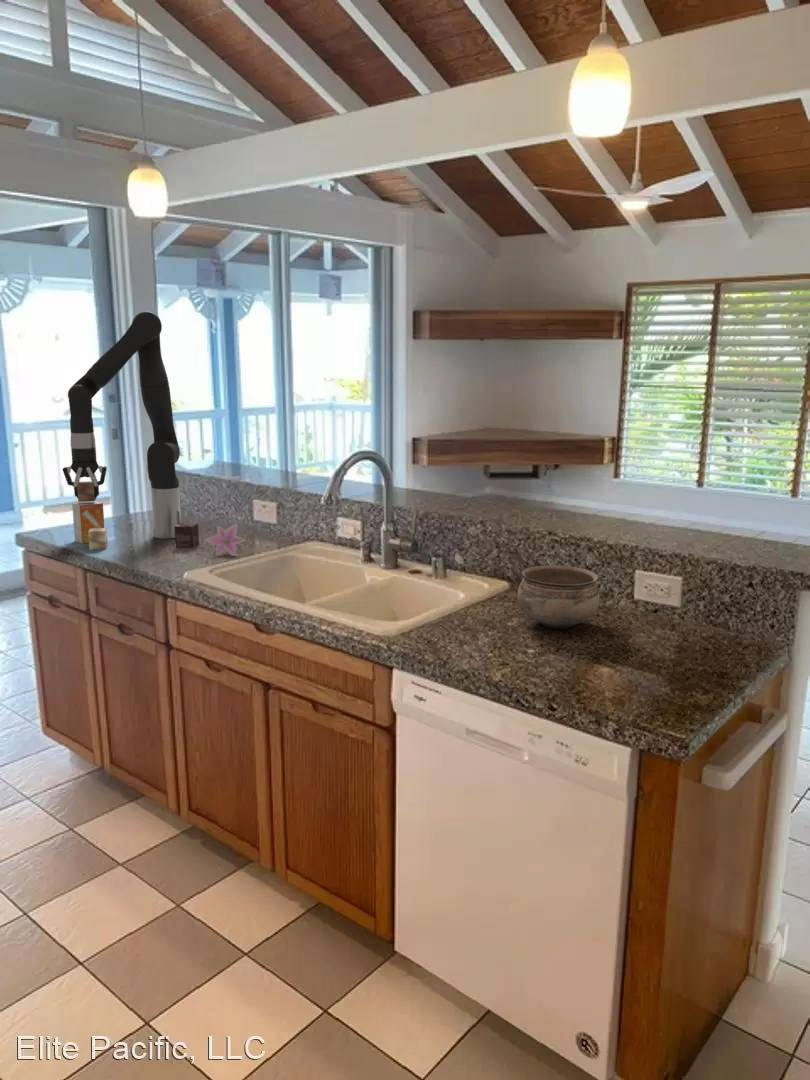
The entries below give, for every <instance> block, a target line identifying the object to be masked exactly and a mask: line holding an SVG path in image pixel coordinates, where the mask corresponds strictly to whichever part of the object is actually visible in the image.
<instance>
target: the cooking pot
mask: <svg viewBox="0 0 810 1080" xmlns="http://www.w3.org/2000/svg"><path fill="white" fill-rule="evenodd" d="M521 576H522V577H523V578H522V580H521V581H520V583H519V586H518V588H517V603H518V604H519V606H520V608H521V610H522V612H523V613H525V615H527V616H528V617H529V618H530V619H533V620H534V621H536V622H537V623H539V624H541V625H543V626H544V627H545V628H548V629H552V630H553V629H554V630H565V629H570V628H571V627H573V626H576V625H578V624H580V623H583V622H584V621H587V620H588V619H590V618H591V617H593V615H595V613H596V612H597V610H598V608H599V605H600V601H601V600H600V598H601V597H600V593H599V592H600V591H599V588H598V586H597V583H596V581H597V580H598V578H599V576H598V575H597V573H595V572H593V571H591V570H588V569H584V568H580V567H575V566H568V565H567V566H566V565H553V564H551V565H547V564H545V565H537V566H536V565H535V566H531V567H527V568H524V569H523V570H522V571H521Z"/></svg>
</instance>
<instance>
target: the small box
mask: <svg viewBox="0 0 810 1080" xmlns="http://www.w3.org/2000/svg"><path fill="white" fill-rule="evenodd" d="M71 504H72V506H71V507H72V521H73V534H74V541H75V542H76V543H79V544H82V545H83V544H89V536H88V531H89V530H90V529H93V528H105V516H104V515H105V514H104V503H103V502H100V501H97V500H95V501H92V502H74V503H71Z"/></svg>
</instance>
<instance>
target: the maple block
mask: <svg viewBox="0 0 810 1080" xmlns="http://www.w3.org/2000/svg"><path fill="white" fill-rule="evenodd" d="M107 532H108V530H107V528H106V527H104V528H93V529H90V530H89V531H88V536H89V543H88V545H89V546H88V548H89V550H91V551H92V549H97V550H106V549H108V546H109V545H108V533H107Z"/></svg>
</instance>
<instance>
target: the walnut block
mask: <svg viewBox="0 0 810 1080" xmlns="http://www.w3.org/2000/svg"><path fill="white" fill-rule="evenodd" d="M77 492H78V498H77V501H78V502H77V503H80V502H92V501H97V498H95V495H94V483H93V482H92V480H89V481H87V480H86V481H79V482H78V483H77Z"/></svg>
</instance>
